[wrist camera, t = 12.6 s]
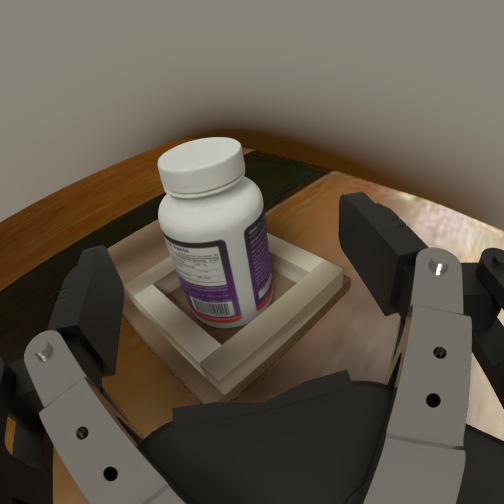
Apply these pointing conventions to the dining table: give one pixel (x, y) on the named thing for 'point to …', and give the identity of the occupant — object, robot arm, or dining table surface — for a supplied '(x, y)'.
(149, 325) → the socket board
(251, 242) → the pill bottle
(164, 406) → the dining table surface
